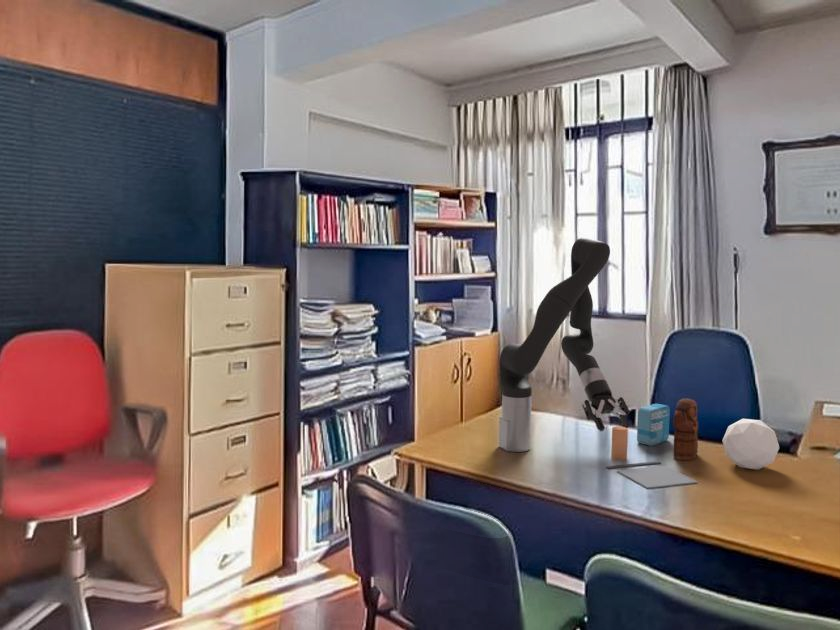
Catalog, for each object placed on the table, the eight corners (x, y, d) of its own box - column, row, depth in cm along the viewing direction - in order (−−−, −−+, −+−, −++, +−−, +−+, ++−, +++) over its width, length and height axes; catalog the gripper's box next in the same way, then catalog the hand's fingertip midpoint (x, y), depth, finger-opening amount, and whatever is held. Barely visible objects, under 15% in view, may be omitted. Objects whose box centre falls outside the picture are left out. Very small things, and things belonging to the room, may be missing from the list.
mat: (644, 489, 176) (644, 487, 176) (605, 467, 193) (605, 466, 193) (700, 482, 181) (700, 481, 181) (658, 462, 198) (658, 461, 198)
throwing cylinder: (616, 461, 200) (617, 431, 199) (608, 456, 204) (609, 427, 203) (629, 459, 201) (631, 430, 200) (621, 455, 205) (622, 426, 204)
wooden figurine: (692, 463, 198) (695, 403, 196) (670, 459, 202) (672, 401, 200) (700, 453, 208) (703, 396, 206) (678, 449, 211) (681, 394, 210)
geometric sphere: (763, 486, 193) (798, 454, 185) (717, 469, 192) (750, 436, 183) (750, 450, 205) (782, 419, 196) (707, 434, 203) (737, 401, 195)
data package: (648, 446, 214) (650, 410, 213) (636, 443, 218) (637, 407, 217) (668, 440, 222) (670, 405, 221) (656, 437, 225) (658, 402, 224)
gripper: (580, 380, 209) (599, 424, 200) (619, 377, 214) (640, 420, 204) (571, 393, 215) (589, 437, 205) (609, 390, 219) (629, 433, 209)
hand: (614, 429), depth 205 cm, fingers open, 8 cm apart
